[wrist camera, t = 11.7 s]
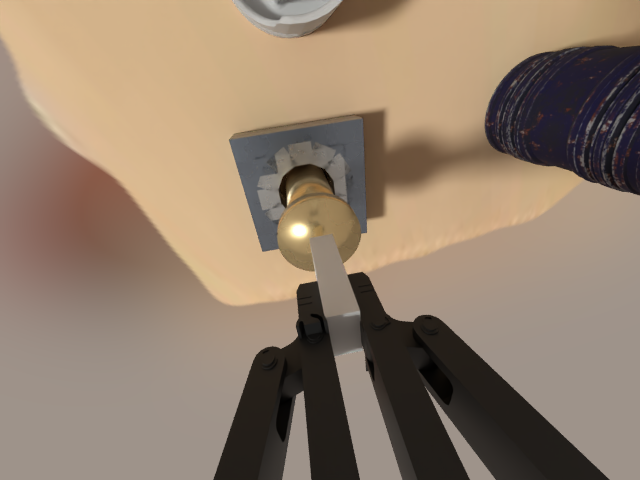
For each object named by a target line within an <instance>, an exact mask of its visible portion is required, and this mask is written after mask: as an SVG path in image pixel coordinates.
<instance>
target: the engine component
mask: <svg viewBox="0 0 640 480" xmlns="http://www.w3.org/2000/svg"><path fill="white" fill-rule="evenodd" d="M232 1H233V3H234V4H235V5H236V7H237V8H238V9H239V11H240V12H241V13H242V14H243V15H244V16H245V17H246V18H247V20H248V21H249V22H251V23H252V24H253V25H254V26H256V27H257V28H259V29H260V30H262V31H264V32H266V33H268V34H270V35H273V36H277V37H280V38H298V37H301V36H304V35H307V34H310V33H311V32H313V31H314V30H316V29H318V28H319V27H320V26H321V25H322V24H323V23H324V22H325V21H326V20H327V19H328V18H329V17H330V16H331V15H332V13H333V12H334V11H335V10H336V8H337V7H338V6H339V5H340V3H341V2H342V1H343V0H232Z"/></svg>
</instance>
